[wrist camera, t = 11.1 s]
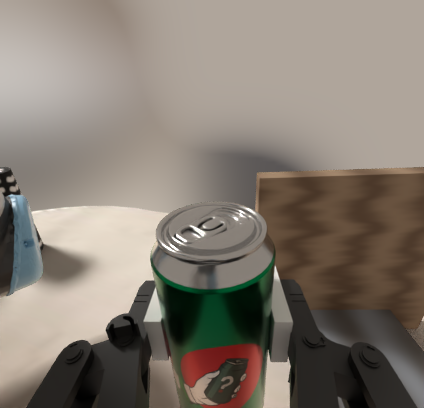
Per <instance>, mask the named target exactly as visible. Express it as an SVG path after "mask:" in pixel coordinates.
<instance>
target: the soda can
mask: <svg viewBox="0 0 424 408" xmlns="http://www.w3.org/2000/svg"><path fill="white" fill-rule="evenodd" d="M267 231H268V229H267V224H266V222H265V220H264V218H263V217H262V216H261V215H260V214H259V213H258V212H256V211H255V210H253V209H251V208H249V207H247V206H243V205H240V204H236V203H229V202H204V203H197V204H192V205H188V206H185V207H182V208H179V209H177V210H175V211H173V212H171V213H170V214H168V215H167V216H165V217H164V218H163V219H162V220H161V221H160V223H159V224H158V227H157V229H156V239H157V240H156V242H155V244H154V246H153V248H152V251H151V256H150V261H151V267H152V271H153V276H154V281H155V286H156V291H157V296H158V300H159V305H160V310H161V315H162V320H163V325H164V330H165V334H166V339H167V344H168V349H169V354H170V359H171V363H172V368H173V373H174V378H175V383H176V388H177V393H178V397H179V402H180V407H181V408H263V404H264V392H265V380H266V368H267V356H268V343H269V331H270V319H271V307H272V294H273V282H274V270H275V257H276V250H275V245H274V243H273V241H272V239H271V238H270V237H269V235H268V234H267Z"/></svg>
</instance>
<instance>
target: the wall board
mask: <svg viewBox="0 0 424 408" xmlns="http://www.w3.org/2000/svg"><path fill="white" fill-rule="evenodd" d="M255 211H256V212H258V213H259V214H260V215H261V216H262V217H263V218H264V220H265V222H266V224H267V229H268V231H267V234H268V235H269V237H270V238H271V239H272V241H273V243H274V245H275V250H276V257H275V266H276V269H277V272H278V276H279V279H294V280H295V281H296V282H297V283H298V284H299V285H300V287H301V289H302V292H303V295H304V297H305V299H306V302H307V304H308V306H309V309H310V311H311V314H312V316H313V318H314V321H315V323H316V326H317V328H318V329H319V331H320V332H322V333H323V334H324V336H325V337H326V338H328V339H329V340H331V341H333V342H336V343H338V344H342V345H345V346H348V347H351V346H352V345H353V344H354V343H357V342H364V343H368V344H370V345H372V346H375V347H376V348H377V349H379V350H380V351H381V352H382V353H383V354H384V355H385V357H386V358H387V359H388V361H389V362H390V364H391V366H392V367H393V369H394V371H395V372H396V374H397V375H398V377H399V379H400V380H401V382H402V383H403V385H404V387H405V388H406V390H407V391H408V393H409V395H410V396H411V398H412V400H413V401H414V403H415V404H416V406H417V408H424V352H423V351H422V349H421V348H420V347H419V345H418V344H417V343H416V342H415V340H414V339H413V338H412V337H411V335H410V334H409V333H408V332H407V330H406V329H417V328H418V326H419V324H420V322H421V320H422V318H423V316H424V167H414V168H384V169H353V170H323V171H295V172H265V173H264V172H263V173H257V186H256V210H255ZM338 402H339V408H345V407H344V405H343V402H342V399H341V398H340V397H338Z"/></svg>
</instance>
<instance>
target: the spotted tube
mask: <svg viewBox="0 0 424 408" xmlns="http://www.w3.org/2000/svg"><path fill="white" fill-rule="evenodd" d="M0 190H1V192H2V193H3V195H4V197H7V196H8V195H22V194H21V192H20V189H19V187H18V185H17V182H16V180H15V178H14V176H13V173H12V171H11V169H10V168H8V167H0ZM34 225H35V224H34ZM35 229H36V226H35ZM36 233H37V237H38V242H39V246H40V251H41V250H42V249H43V247H44V245H43V243H42V240H41V238H40V236H39V233H38V231H37V229H36Z"/></svg>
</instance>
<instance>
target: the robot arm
mask: <svg viewBox="0 0 424 408" xmlns="http://www.w3.org/2000/svg"><path fill="white" fill-rule="evenodd" d="M42 274H43V262H42V256H41V251H40V246H39V242H38V237H37V233H36V229H35V225H34V221H33V217H32V213H31V210H30V207H29V203H28V201H27V199H26V198H25V197H24V196H22V195H8V196H7V197H4V195H3V193H2V192H1V190H0V297H3V296H9V295H11V294H13V293H14V292H15V291H17V290H20V289H22V288H25V287H27V286H29V285H32V284H34V283H36V282H37V281H38V280H39V279H40V278H41V276H42ZM106 332H107V335H108V338H109V340H107V341H104V342H101V343H97V344H94V345H90V343H89V342H88V341H85V340H79V341H75V342H73V343H71V344H69V345H68V346H67V347H66V348H64V349H63V351H62V352H61V353H60V354H59V356H58V357H57V359H56V361H55V362H54V364H53V365H52V367H51V369H50V370H49V372H48V373H47V375H46V377H45V378H44V380H43V381H42V383H41V385H40V386H39V388H38V389H37V391H36V393H35V394H34V396H33V397H32V399H31V401H30V402H29V404H28V405H27V407H26V408H149V386H150V367H149V361H150V357H151V354H152V358H153V360H169V356H170V354H169V349H168V344H167V339H166V334H165V330H164V325H163V320H162V315H161V310H160V305H159V300H158V296H157V291H156V286H155V281H145V282H144V283H143V284H142V286H141V287H140V288H139V290H138V293H137V296H136V297H135V300H134V303H133V304H132V306H131V309H130V311H129V313H128V314H122V315H119V316H117V317H115V318H114V319H112V320H111V322H110V323H109V324H108V325H107V328H106ZM268 350H269V355H270V361H271V362H287V359H288V357H289V361H290V365H291V368H290V374H289V380H288V382H289V383H290V408H339V402H338V397H340V398H341V399H342V402H343V405H344V407H345V408H417V406H416V404H415V403H414V401H413V400H412V398H411V396H410V395H409V393H408V391H407V390H406V388H405V387H404V385H403V383H402V382H401V380H400V379H399V377H398V375H397V374H396V372H395V371H394V369H393V367H392V366H391V364H390V362H389V361H388V359H387V358H386V357H385V355H384V354H383V353H382V352H381V351H380V350H379V349H377V348H376V347H375V346H372V345H370V344H368V343H364V342H357V343H354V344H353V345H352V346H351V347H348V346H345V345H342V344H338V343H336V342H333V341H331V340H329V339H328V338H326V337H325V336H324V334H323V333H322V332H320V331H319V329H318V328H317V326H316V323H315V321H314V318H313V316H312V314H311V311H310V309H309V306H308V304H307V302H306V299H305V297H304V295H303V292H302V289H301V287H300V285H299V284H298V283H297V282H296V281H295V280H294V279H279V276H278V272H277V269H276V266H275V270H274V282H273V294H272V307H271V319H270V331H269V343H268Z"/></svg>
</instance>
